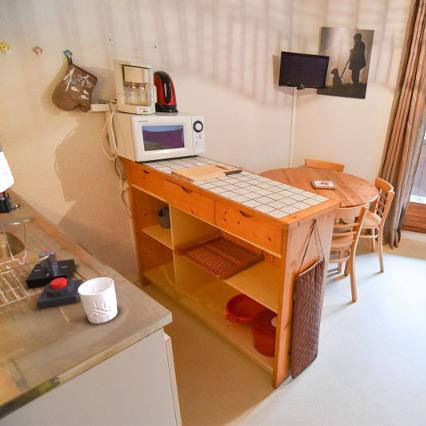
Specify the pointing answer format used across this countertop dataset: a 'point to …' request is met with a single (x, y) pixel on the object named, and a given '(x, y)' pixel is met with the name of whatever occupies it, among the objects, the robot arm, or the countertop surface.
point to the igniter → (60, 294)
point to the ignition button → (58, 283)
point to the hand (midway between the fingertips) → (3, 212)
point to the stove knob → (48, 261)
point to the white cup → (98, 299)
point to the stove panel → (50, 274)
